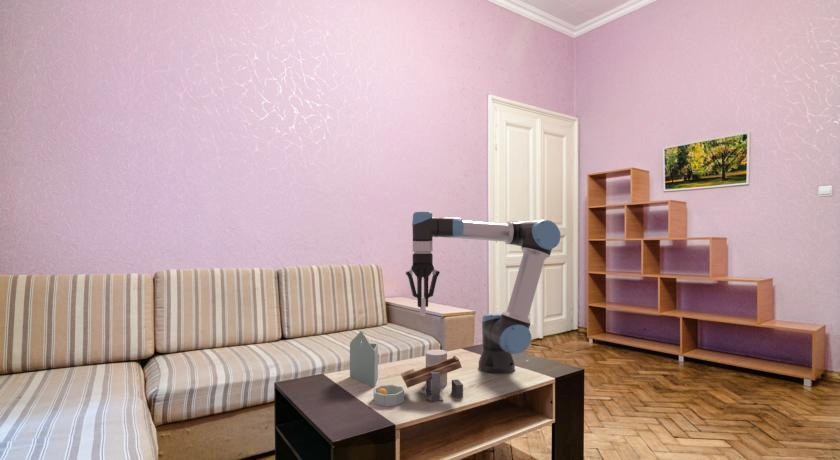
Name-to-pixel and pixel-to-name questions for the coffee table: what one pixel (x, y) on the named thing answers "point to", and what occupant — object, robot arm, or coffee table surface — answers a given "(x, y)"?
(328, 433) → the coffee table surface
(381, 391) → the ball
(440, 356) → the pale pink cylinder
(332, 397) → the coffee table surface
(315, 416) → the coffee table surface
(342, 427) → the coffee table surface
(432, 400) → the fulcrum
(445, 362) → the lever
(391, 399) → the bowl
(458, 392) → the block
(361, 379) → the planter
